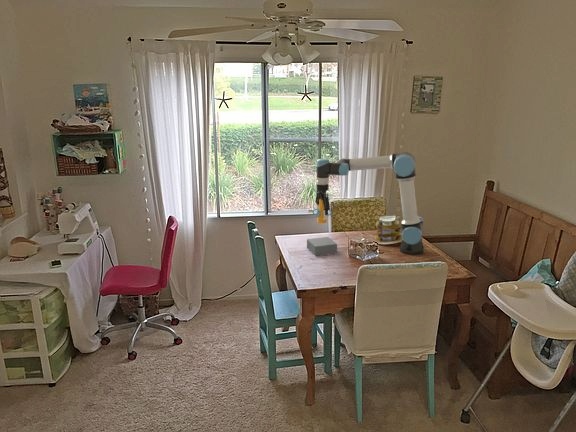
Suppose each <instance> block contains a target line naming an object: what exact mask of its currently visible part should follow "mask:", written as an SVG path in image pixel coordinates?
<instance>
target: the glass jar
mask: <svg viewBox="0 0 576 432" xmlns="http://www.w3.org/2000/svg"><path fill="white" fill-rule="evenodd" d="M396 217H397V216H396V215H383V216H379V218H378V221H377V222H376V229H377V232H376V235H375V236H373V237H374V238H375V240H376V241H377V243H378V245H391V244H392V245H393V244H397V243H401V242H402V240H403V239H402V227H401V226H400V220H399V219H397V218H396ZM377 243H376V244H377Z"/></svg>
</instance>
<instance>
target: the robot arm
mask: <svg viewBox="0 0 576 432" xmlns="http://www.w3.org/2000/svg"><path fill="white" fill-rule="evenodd" d="M379 169H392V170H393V171H394V174H395V179H396V181H398V186H399V196H400V204H401V211H402V220H401V222H400V227H401V233H402V239H403V240H402V242H400V245H399V252H401V253H402V254H404V255H410V256H417V255H418V256H419V255H422V254H424V252H425V248H424V244H423V241H422V240H423V227H424V226H423V225H424V218H423V217H422V216H419V215H418V208H417V199H416V189H415V180H414V179H415V178H416V176H417V174H416V159H415V156H414V155H413V154H412V153H410V152H408V151H407V152H406V151H405V152H404V151H403V152H396V153H391V154H390V155H382V156H380V155H379V156H371V157H359V158H357V157H356V158H355V157H354V158H341V159H339V160H338V161H336V162H330V160H329V159H328V158H319V159H317V160H316V179H315V180H316V194H315V200H314V201H315V202H314V203H315V204H316V209H317V208H318V207H319V199H322V201H323V205H324V220H327V221H329V216H328V214H329V210H331V205H330V200H329V199H330V198H329V193H327V191H329V187H330V186H329V185H330V182H329V181H330V176H341V177H342V176H348V175H349V172H352V171H367V170H379ZM318 210H319V209H318ZM317 214H318V213H317Z"/></svg>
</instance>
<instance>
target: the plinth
mask: <svg viewBox="0 0 576 432" xmlns="http://www.w3.org/2000/svg"><path fill="white" fill-rule="evenodd" d="M306 248H307V250H308V251H310V253H312V255H314V256H322V255H330V254H331V255H332V254H337V253H338V243H337V242H335V241H334V240H333V239H332V238H331V237H329V236H325V237H315V238H307V239H306Z"/></svg>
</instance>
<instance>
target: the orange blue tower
mask: <svg viewBox="0 0 576 432" xmlns="http://www.w3.org/2000/svg"><path fill="white" fill-rule="evenodd" d="M318 209H319V210H318ZM315 211H316V213H315ZM328 212H330V213H328V217H329V216H331V215H332V214H333V211H332V210H331V209H330V210H328ZM317 213H318V214H317ZM312 215H313V216H316V218H317V220H316V221H317V224H318V223H319V224H326V223H327V222H328V220H324V205H323V201H322V199H319V207H318V208H317V207H316V208H314V209H313V210H312Z"/></svg>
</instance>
